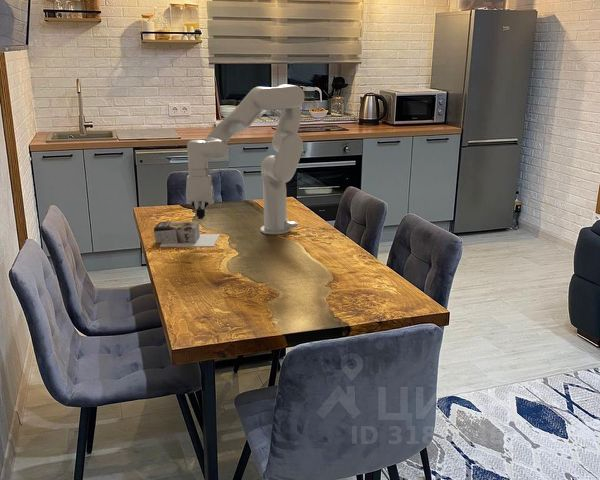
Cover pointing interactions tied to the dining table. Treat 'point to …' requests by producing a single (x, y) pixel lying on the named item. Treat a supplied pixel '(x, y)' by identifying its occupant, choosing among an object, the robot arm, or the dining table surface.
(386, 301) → the dining table surface
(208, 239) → the mat
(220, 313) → the dining table surface
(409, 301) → the dining table surface
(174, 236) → the coffee box
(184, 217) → the dining table surface
